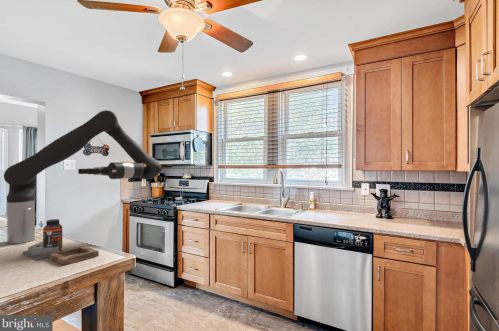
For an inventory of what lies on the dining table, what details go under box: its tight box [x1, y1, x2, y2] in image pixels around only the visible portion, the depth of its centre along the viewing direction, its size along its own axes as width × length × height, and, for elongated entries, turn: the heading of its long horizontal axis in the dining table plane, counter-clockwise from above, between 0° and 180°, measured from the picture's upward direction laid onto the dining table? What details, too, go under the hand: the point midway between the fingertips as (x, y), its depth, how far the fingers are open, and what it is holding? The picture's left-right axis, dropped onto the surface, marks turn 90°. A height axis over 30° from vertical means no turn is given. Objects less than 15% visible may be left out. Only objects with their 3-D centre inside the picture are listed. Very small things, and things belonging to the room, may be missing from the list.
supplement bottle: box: [42, 218, 63, 250], centre depth 103 cm, size 6×6×11 cm
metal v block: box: [22, 240, 63, 262], centre depth 100 cm, size 15×9×3 cm, turn 55°
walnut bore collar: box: [48, 245, 100, 266], centre depth 96 cm, size 12×11×2 cm
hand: (83, 171), depth 112 cm, fingers open, 8 cm apart
